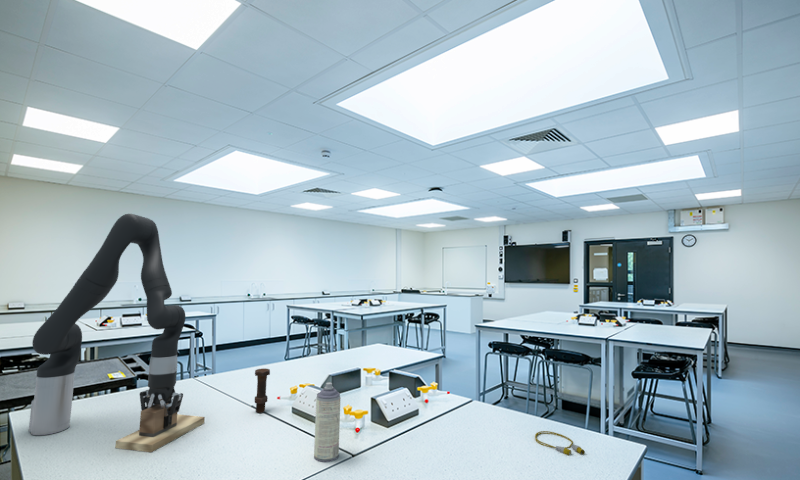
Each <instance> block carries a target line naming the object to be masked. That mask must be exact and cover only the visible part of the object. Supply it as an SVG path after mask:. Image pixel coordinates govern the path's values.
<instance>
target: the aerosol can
mask: <svg viewBox="0 0 800 480" xmlns="http://www.w3.org/2000/svg"><path fill="white" fill-rule="evenodd" d="M314 422H315V423H314V443H313V444H314V450H313V459H314V460H315V461H317V462H320V463H321V462H322V463H329V462H333V461H335V460H337V459H338V458H339V452H340V425H341V424H340V423H341V393H340V392H339V391H338V390H337V389H336V388H335V387H334V386H333V383H332V382H326V383H325V386H324V387H323V388H322V389H321V390H320V391H319V392H318V393H316V398H315V421H314Z"/></svg>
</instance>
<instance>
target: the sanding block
mask: <svg viewBox="0 0 800 480" xmlns="http://www.w3.org/2000/svg"><path fill="white" fill-rule="evenodd" d="M166 405H168V403H167V404H166ZM168 411H169V407H168ZM177 414H178V412H177V413H174V414H173V415H172V424H171V425H170V427H168V428H166V429H164V428H163V424H164V416H165V415H164V409H162V408H161V405H157V406H154V407H152V408H147V409H145V410H143V411H142V410H140V416H139V429H138V430H139V436H147V437H155V436H157V435H159V434H161V433H163V432H165V431H167V430H169V429H171V428H173V427H175V426H176V425H177Z"/></svg>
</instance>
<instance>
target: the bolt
mask: <svg viewBox="0 0 800 480" xmlns="http://www.w3.org/2000/svg"><path fill="white" fill-rule="evenodd" d="M254 375H255V376H256V378H257V379H256V380H257V382H256V383H257V384H256V396H254V403H255V412H256V413H258V414H262V413H264V412H265V411H266V403H267V402H268V395H267V379H268V376H270V375H271V370H270V369H269V368H264V367H263V368H256V369H255V370H254Z"/></svg>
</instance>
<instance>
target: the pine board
mask: <svg viewBox="0 0 800 480" xmlns="http://www.w3.org/2000/svg"><path fill="white" fill-rule="evenodd" d="M205 419H206V417H205V416H199V415H188V414H181V413H177V425H176V426H175V427H173V428H171V429H169V430H167V431H165V432H163V433H161V434H159V435H157V436H155V437H147V436H139V429H138V430H136V431H134V432H131V433H130V434H128V435H125V436H122V437H121V438H119V439H117V440H115V449H119V450H128V451H137V452H144V453H145V452H146V453H153V452H155V451H157V450H158V449H160V448H162V447H164V446H165V445H168V444H169V443H171V442H173V441H175V440H176V439H178V438H180V437H182V436H183V435H186V434H188V433H189V432H190V431H194V430H195V429H197V428H198V427H200V426H201V425H204V424H205Z"/></svg>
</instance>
